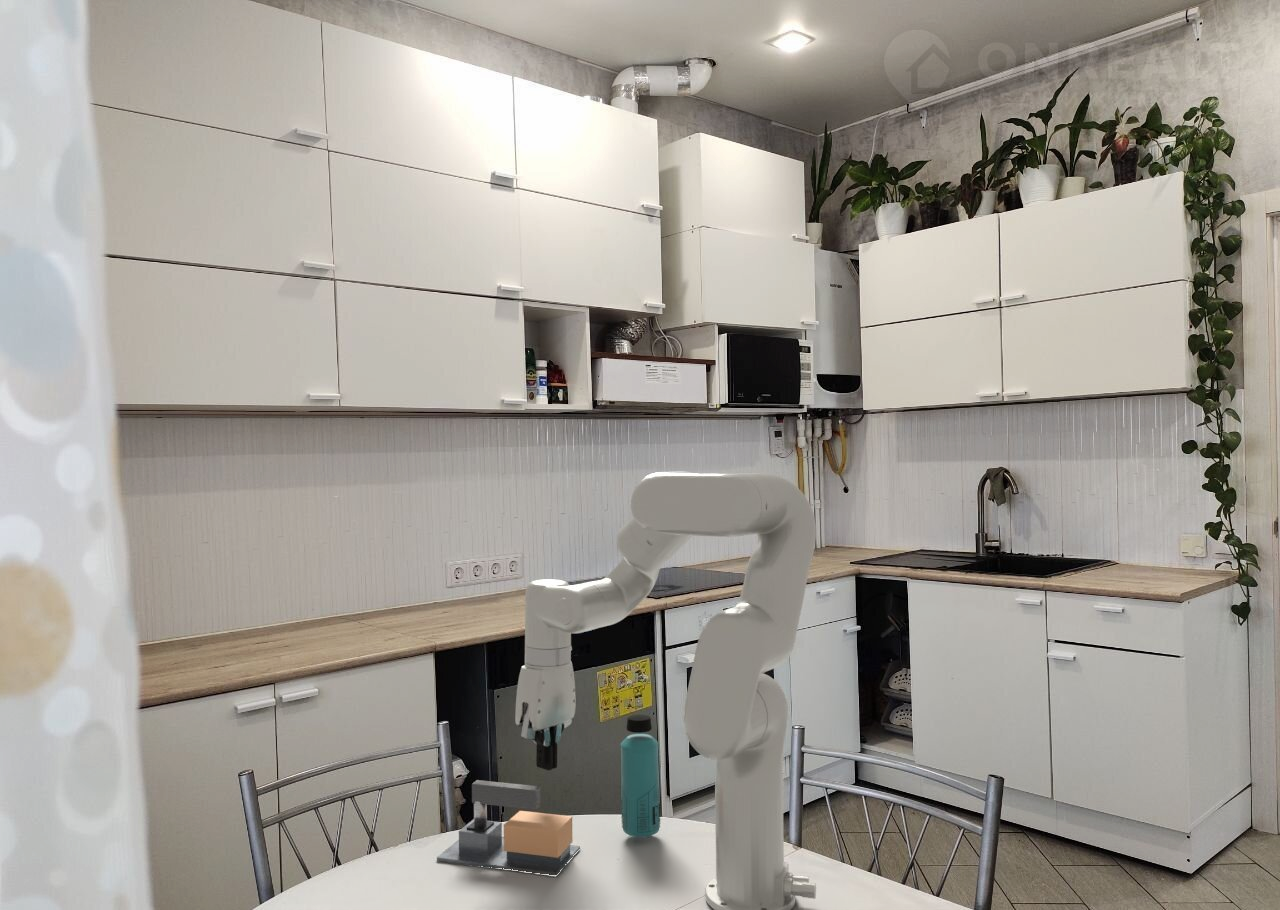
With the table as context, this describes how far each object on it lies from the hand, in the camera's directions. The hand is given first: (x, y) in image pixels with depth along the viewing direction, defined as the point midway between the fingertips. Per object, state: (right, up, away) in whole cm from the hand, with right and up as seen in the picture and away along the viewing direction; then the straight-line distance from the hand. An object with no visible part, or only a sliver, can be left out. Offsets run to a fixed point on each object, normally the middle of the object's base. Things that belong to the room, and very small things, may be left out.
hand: (546, 767), depth 149 cm
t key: (-6, -7, -6) cm, 11 cm away
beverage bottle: (+15, -12, 0) cm, 20 cm away
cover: (0, -10, -7) cm, 12 cm away
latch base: (-5, -12, -6) cm, 14 cm away
